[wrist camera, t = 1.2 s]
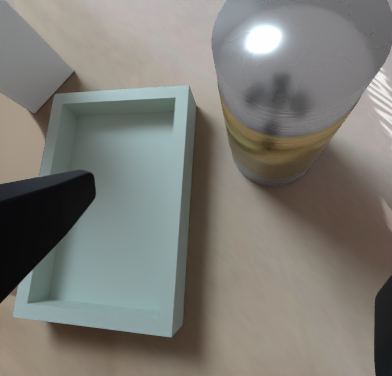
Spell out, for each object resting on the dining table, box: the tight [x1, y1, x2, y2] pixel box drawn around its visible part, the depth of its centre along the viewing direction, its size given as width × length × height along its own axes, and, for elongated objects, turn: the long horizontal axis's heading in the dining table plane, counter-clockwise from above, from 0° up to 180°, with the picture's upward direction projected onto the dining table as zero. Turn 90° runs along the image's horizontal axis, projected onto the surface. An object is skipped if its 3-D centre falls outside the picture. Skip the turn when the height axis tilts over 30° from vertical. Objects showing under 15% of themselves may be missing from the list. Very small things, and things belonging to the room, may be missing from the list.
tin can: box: [212, 0, 392, 186], centre depth 16 cm, size 7×7×12 cm
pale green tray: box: [13, 85, 196, 337], centre depth 22 cm, size 18×12×3 cm, turn 177°
